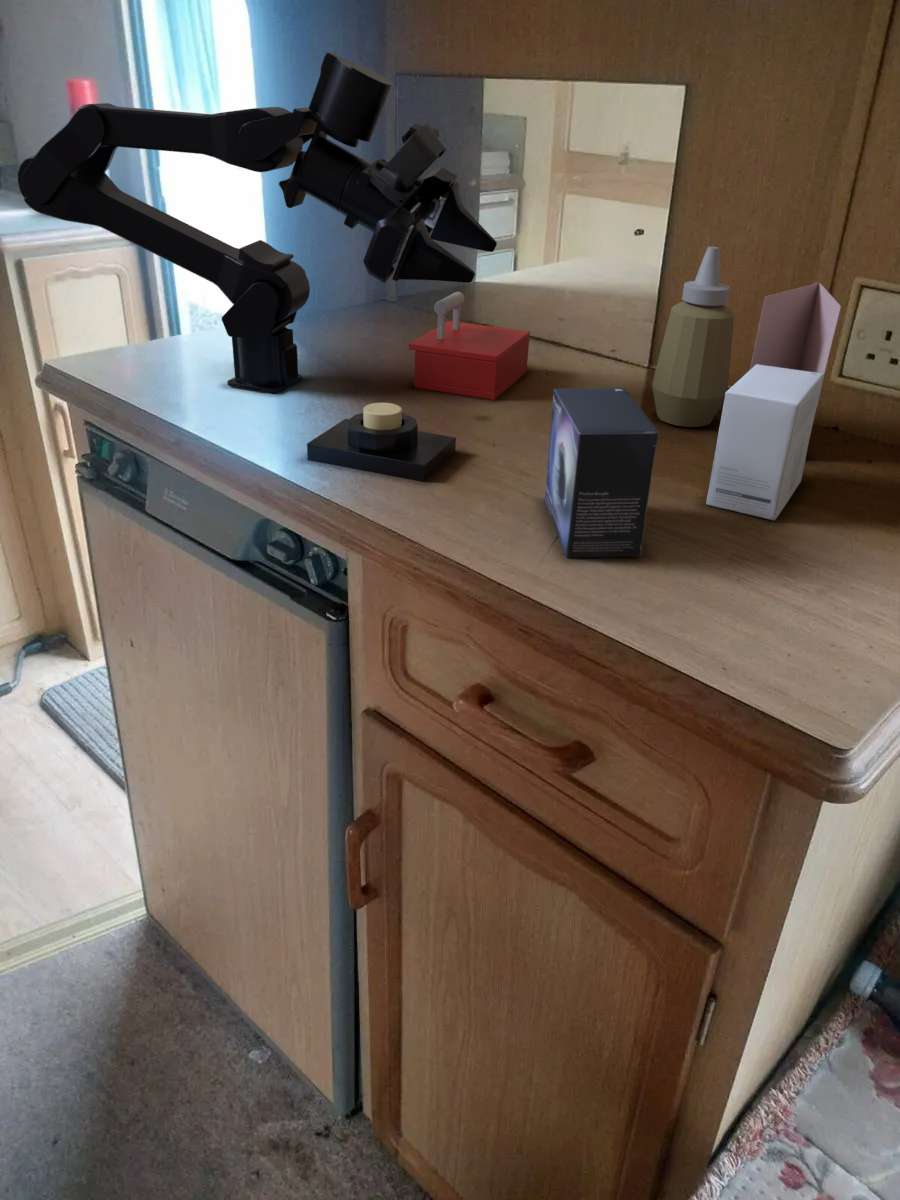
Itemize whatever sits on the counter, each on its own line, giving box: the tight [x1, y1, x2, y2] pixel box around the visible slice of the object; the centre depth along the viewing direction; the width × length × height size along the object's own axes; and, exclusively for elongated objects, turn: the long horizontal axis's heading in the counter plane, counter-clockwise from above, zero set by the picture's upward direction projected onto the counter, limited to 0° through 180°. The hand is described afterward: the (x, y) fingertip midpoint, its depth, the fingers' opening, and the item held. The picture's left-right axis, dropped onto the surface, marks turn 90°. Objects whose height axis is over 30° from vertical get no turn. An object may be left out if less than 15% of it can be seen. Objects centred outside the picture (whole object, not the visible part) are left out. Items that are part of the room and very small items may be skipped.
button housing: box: [306, 412, 457, 483], centre depth 87 cm, size 12×8×4 cm, turn 69°
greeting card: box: [749, 282, 842, 375], centre depth 92 cm, size 11×7×15 cm, turn 135°
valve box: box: [413, 337, 530, 401], centre depth 110 cm, size 10×13×4 cm
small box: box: [544, 387, 660, 558], centre depth 73 cm, size 11×6×10 cm, turn 5°
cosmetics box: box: [705, 364, 825, 521], centre depth 81 cm, size 10×6×10 cm, turn 150°
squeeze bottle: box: [651, 246, 735, 428], centre depth 96 cm, size 8×8×18 cm
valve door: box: [408, 291, 531, 362], centre depth 107 cm, size 11×13×5 cm
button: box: [362, 402, 403, 430], centre depth 86 cm, size 4×4×2 cm
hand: (484, 262), depth 95 cm, fingers open, 9 cm apart
